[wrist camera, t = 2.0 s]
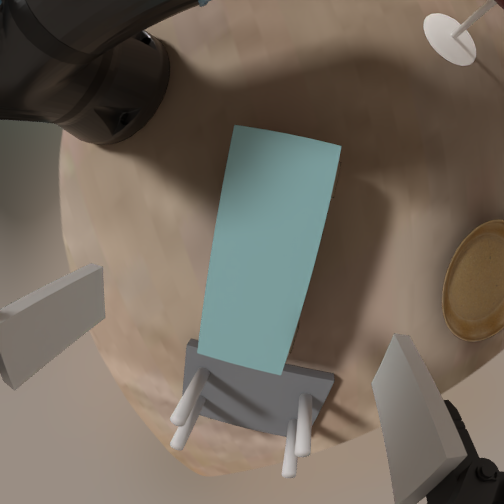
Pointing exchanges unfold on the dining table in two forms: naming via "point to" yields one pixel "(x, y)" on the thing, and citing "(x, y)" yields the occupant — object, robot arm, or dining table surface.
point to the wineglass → (455, 34)
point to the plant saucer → (476, 284)
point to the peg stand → (252, 401)
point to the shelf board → (265, 245)
